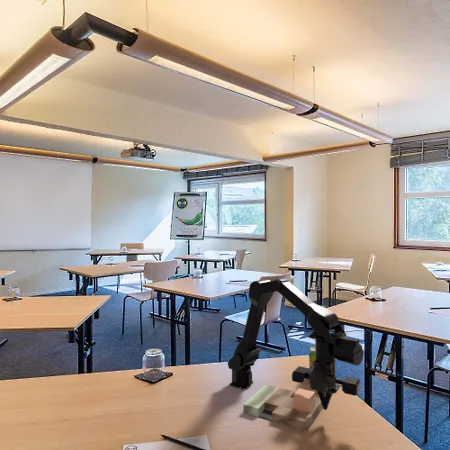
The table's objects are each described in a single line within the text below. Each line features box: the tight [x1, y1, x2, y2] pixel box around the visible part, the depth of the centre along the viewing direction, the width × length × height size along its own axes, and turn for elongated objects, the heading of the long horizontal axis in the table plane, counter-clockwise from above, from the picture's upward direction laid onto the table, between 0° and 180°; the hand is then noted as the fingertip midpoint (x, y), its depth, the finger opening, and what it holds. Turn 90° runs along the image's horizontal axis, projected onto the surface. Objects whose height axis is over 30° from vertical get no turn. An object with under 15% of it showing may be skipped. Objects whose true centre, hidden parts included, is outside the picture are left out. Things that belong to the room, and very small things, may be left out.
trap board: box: [242, 384, 323, 432], centre depth 112 cm, size 20×16×2 cm
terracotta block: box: [293, 388, 316, 413], centre depth 109 cm, size 5×5×4 cm
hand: (325, 409), depth 105 cm, fingers closed
